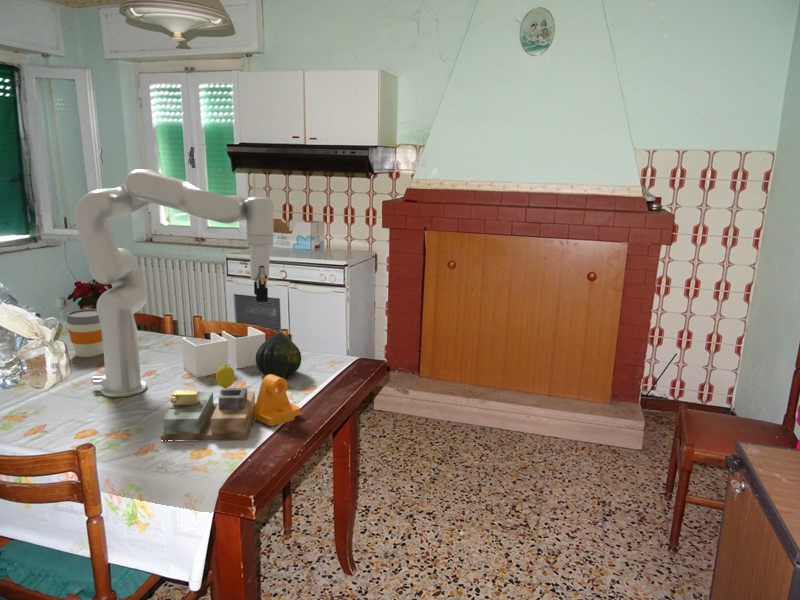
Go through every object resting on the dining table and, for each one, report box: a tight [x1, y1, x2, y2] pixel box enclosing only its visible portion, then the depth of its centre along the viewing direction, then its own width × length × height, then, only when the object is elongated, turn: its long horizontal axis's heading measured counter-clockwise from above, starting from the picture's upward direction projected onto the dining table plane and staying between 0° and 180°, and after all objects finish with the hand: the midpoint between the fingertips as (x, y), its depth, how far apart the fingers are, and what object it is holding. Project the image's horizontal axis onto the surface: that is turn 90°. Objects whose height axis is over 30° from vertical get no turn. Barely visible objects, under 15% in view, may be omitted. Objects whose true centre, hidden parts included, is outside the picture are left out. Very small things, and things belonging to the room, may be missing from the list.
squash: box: [255, 331, 302, 379], centre depth 187 cm, size 14×15×15 cm
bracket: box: [254, 374, 301, 427], centre depth 154 cm, size 11×7×12 cm, turn 141°
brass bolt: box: [170, 389, 200, 405], centre depth 147 cm, size 6×5×3 cm
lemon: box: [215, 364, 236, 389], centre depth 174 cm, size 6×6×8 cm
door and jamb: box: [159, 387, 256, 442], centre depth 150 cm, size 21×20×9 cm
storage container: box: [181, 326, 266, 378], centre depth 194 cm, size 25×11×11 cm, turn 132°
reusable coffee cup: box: [66, 308, 104, 358], centre depth 201 cm, size 13×12×15 cm
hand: (260, 297), depth 167 cm, fingers open, 9 cm apart
